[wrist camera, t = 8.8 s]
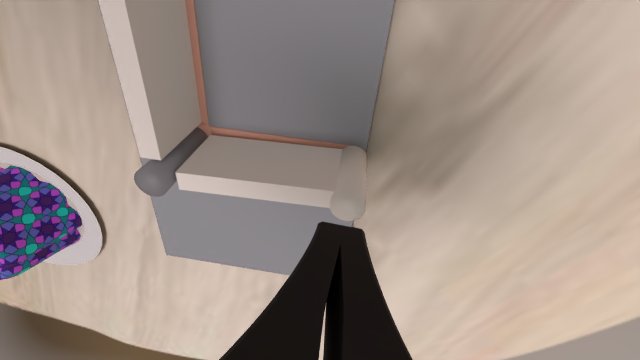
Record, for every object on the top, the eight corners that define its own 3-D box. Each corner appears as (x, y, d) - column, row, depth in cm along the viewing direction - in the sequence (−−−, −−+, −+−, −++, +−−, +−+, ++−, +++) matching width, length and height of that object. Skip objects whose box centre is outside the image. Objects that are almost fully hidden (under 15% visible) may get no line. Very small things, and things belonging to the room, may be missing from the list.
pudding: (21, 116, 21) (-69, 156, 17) (138, 245, 27) (93, 300, 22) (-79, 162, 25) (-175, 205, 20) (43, 268, 30) (-12, 318, 26)
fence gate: (213, 154, 19) (176, 199, 16) (209, 130, 18) (169, 171, 15) (364, 171, 19) (363, 223, 15) (368, 147, 18) (367, 195, 14)
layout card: (74, -114, 14) (64, -117, 13) (409, -84, 13) (410, -85, 12) (168, 251, 26) (165, 255, 26) (341, 279, 25) (341, 284, 25)
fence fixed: (145, -81, 14) (52, -98, 10) (182, -77, 13) (103, -93, 10) (185, 147, 20) (138, 194, 16) (210, 151, 20) (170, 199, 16)
